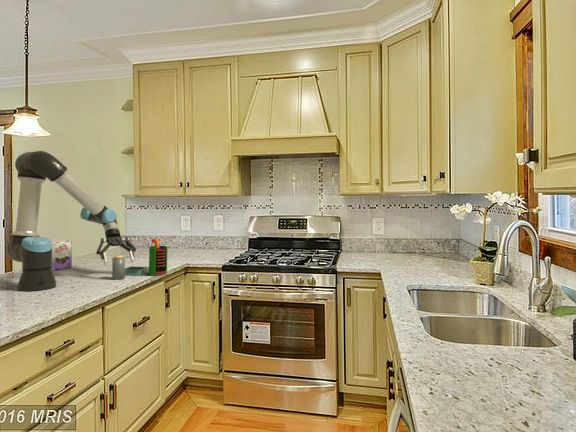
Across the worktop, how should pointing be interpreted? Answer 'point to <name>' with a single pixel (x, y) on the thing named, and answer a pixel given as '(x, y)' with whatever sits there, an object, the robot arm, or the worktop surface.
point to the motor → (157, 259)
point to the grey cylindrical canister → (118, 267)
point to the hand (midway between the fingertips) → (119, 262)
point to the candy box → (61, 255)
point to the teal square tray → (136, 271)
